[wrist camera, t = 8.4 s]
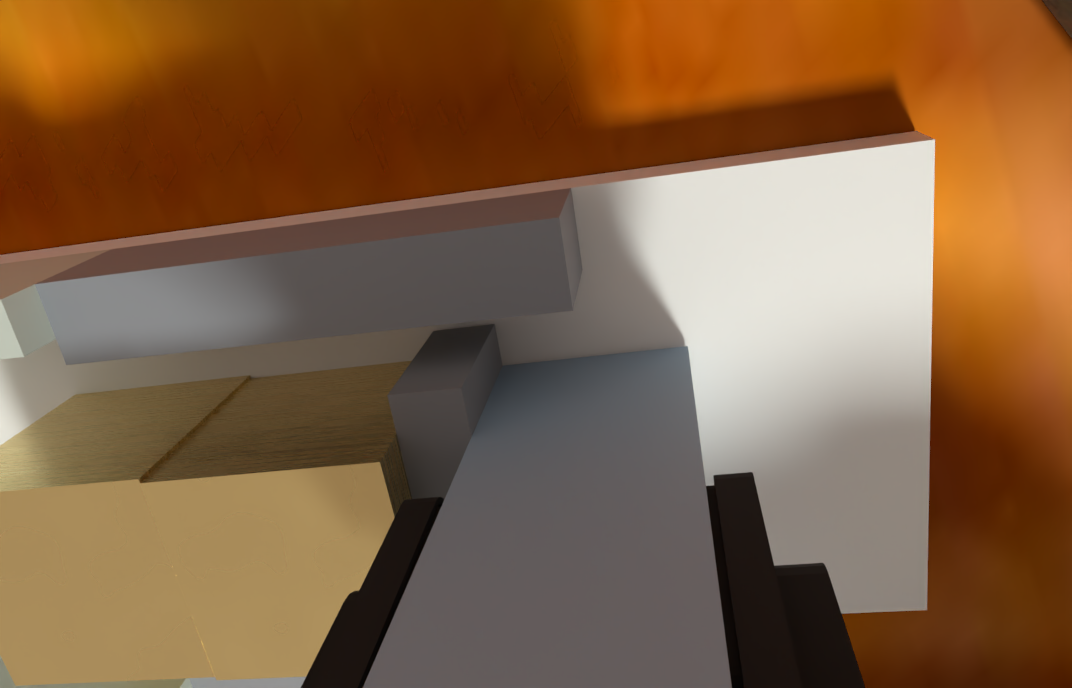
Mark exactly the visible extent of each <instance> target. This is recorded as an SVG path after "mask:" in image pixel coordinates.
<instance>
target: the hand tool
mask: <svg viewBox="0 0 1072 688" xmlns="http://www.w3.org/2000/svg"><path fill="white" fill-rule="evenodd" d="M1042 1H1043V2H1044V4H1045V5H1046V6H1047V7H1048V9H1049V10H1050V11H1051V13H1052V14H1053V15H1054V16H1055V18H1056V19H1057V20H1058V22H1059V23H1060V24H1061V25H1062V27H1063V28H1064V29H1065V31H1066V32H1067V33H1068V34H1069V35H1070V37H1071V38H1072V0H1042Z"/></svg>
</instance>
